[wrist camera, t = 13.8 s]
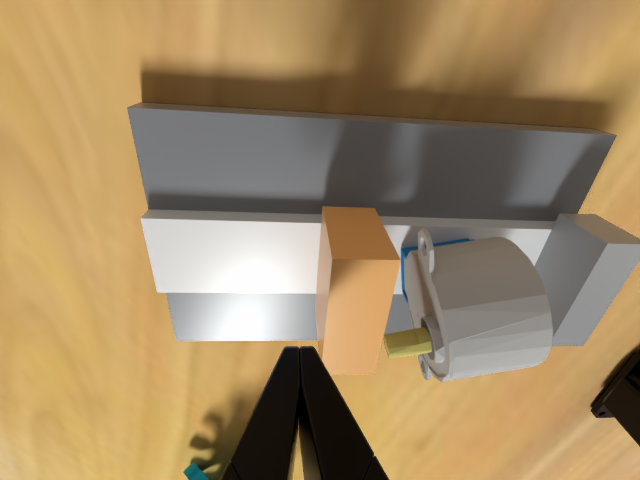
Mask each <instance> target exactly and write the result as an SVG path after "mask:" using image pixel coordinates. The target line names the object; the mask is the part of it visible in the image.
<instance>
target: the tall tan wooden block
mask: <svg viewBox="0 0 640 480" xmlns="http://www.w3.org/2000/svg"><path fill="white" fill-rule="evenodd" d="M400 262H401V259H400V257H399V255H398V253H397V251H396V249H395V247H394V245H393V243H392V242H391V240H390V238H389V236H388V234H387V232H386V230H385V228H384V226H383V224H382V222H381V220H380V218H379V216H378V214H377V212H376V210H375V208H361V207H330V206H323V207H322V220H321V233H320V246H319V259H318V272H317V285H316V298H315V316H316V328H317V340H318V352H319V356H320V358H321V360H322V361H323V363H324V365H325V367H326V369H327V370H328V372H329V374H330V375H375V373H376V368H377V364H378V359H379V355H380V351H381V346H382V342H383V337H384V333H385V328H386V324H387V319H388V315H389V311H390V306H391V302H392V297H393V293H394V288H395V284H396V280H397V275H398V271H399V266H400Z"/></svg>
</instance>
